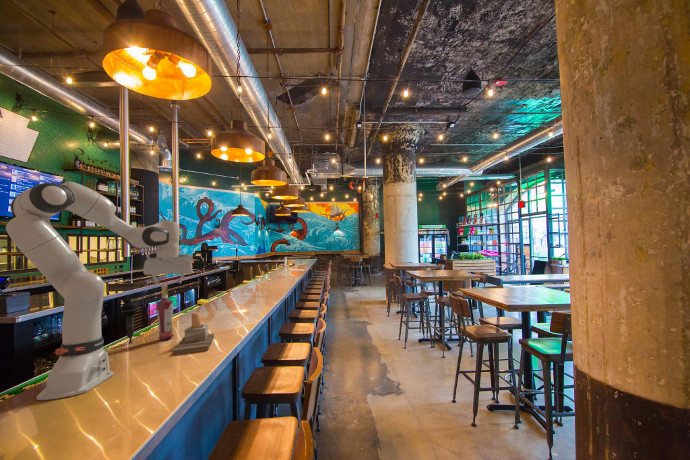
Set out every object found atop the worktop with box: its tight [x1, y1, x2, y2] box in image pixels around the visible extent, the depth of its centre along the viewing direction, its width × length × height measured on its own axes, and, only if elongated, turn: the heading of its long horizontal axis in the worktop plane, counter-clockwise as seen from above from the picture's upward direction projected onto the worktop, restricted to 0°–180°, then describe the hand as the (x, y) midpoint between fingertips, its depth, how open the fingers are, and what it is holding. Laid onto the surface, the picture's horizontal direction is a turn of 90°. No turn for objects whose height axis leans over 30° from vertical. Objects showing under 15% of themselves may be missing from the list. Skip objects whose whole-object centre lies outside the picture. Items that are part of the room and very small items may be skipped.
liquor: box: [156, 283, 174, 341], centre depth 164 cm, size 7×7×28 cm
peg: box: [191, 312, 202, 329], centre depth 155 cm, size 4×4×12 cm
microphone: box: [120, 302, 139, 344], centre depth 159 cm, size 7×7×20 cm
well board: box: [172, 323, 215, 356], centre depth 150 cm, size 22×14×8 cm, turn 16°
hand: (168, 283), depth 150 cm, fingers open, 8 cm apart
